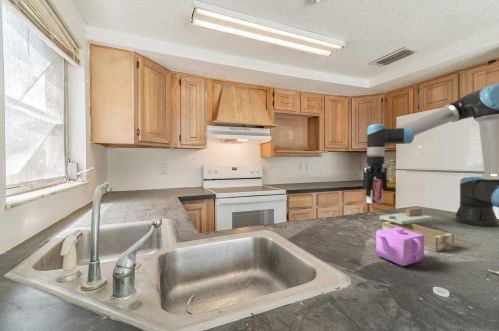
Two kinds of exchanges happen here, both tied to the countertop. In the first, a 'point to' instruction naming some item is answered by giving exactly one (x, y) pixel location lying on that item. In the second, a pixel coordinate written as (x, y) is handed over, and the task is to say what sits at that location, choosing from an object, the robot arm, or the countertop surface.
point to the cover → (407, 216)
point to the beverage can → (377, 191)
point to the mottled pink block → (400, 246)
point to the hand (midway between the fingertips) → (374, 202)
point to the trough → (426, 235)
